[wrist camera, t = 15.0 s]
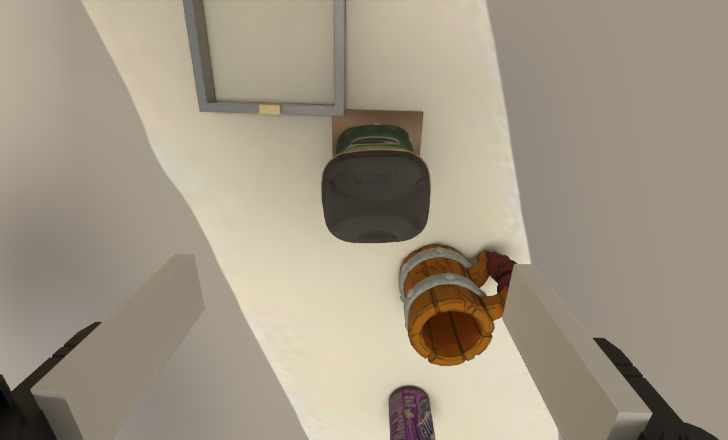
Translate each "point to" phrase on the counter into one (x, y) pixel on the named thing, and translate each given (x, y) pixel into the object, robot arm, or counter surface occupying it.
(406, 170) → the coffee jar
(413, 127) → the pad
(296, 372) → the counter surface
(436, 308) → the mug
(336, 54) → the grey square shallow frame
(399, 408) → the beverage can
